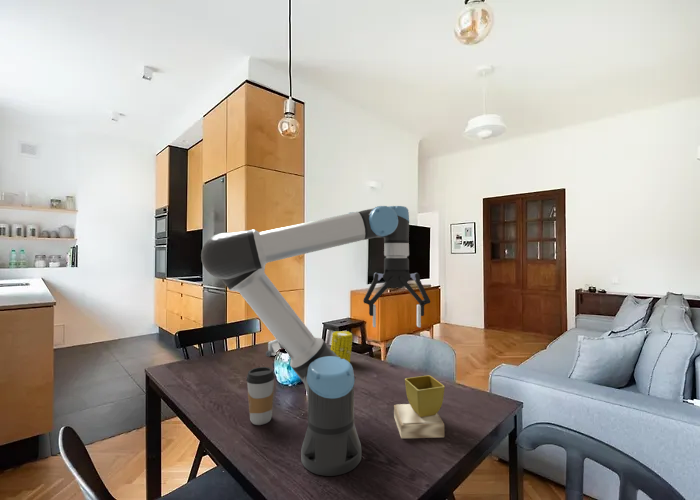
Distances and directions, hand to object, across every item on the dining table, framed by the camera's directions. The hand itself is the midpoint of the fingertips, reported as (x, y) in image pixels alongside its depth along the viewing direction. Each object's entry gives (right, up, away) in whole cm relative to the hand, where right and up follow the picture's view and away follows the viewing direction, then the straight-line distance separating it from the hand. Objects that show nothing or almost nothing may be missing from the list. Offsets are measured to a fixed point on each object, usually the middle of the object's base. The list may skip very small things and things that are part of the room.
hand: (396, 326), depth 103 cm
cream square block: (+6, -28, -4) cm, 29 cm away
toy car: (-45, -29, +62) cm, 82 cm away
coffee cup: (-42, -29, 0) cm, 51 cm away
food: (-18, -28, +50) cm, 60 cm away
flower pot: (+8, -24, -5) cm, 26 cm away
